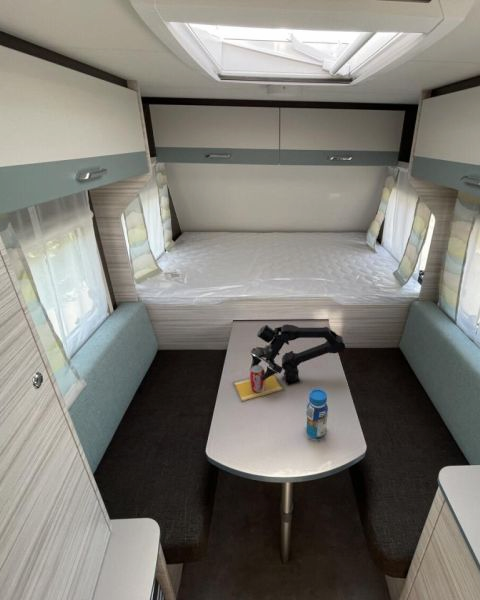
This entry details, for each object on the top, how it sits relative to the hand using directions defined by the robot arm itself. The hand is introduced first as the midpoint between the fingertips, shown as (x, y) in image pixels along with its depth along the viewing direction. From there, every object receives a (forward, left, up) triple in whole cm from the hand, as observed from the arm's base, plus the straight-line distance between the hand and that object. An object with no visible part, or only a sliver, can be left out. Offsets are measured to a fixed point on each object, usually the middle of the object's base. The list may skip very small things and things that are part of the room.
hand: (256, 375), depth 152 cm
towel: (-2, -3, -9) cm, 9 cm away
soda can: (-1, 0, -9) cm, 9 cm away
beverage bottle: (-14, +34, -9) cm, 38 cm away
